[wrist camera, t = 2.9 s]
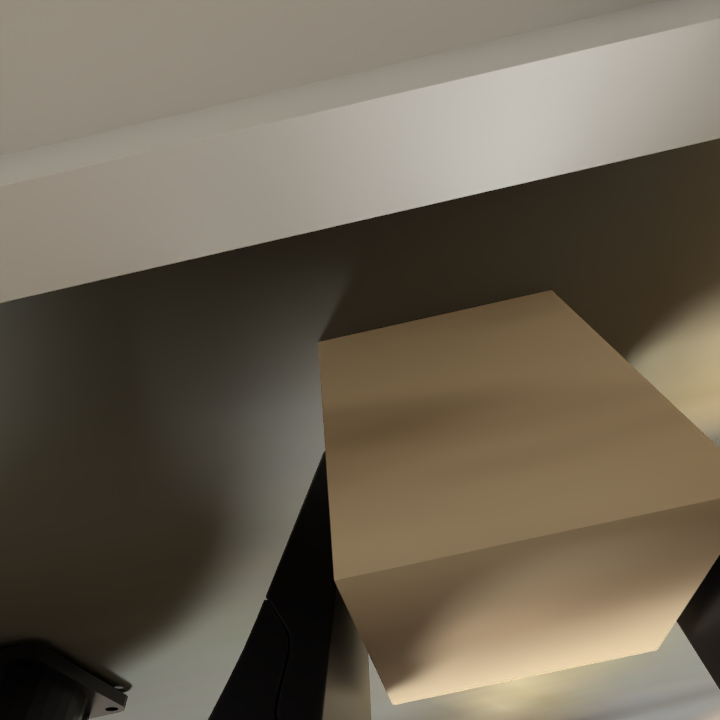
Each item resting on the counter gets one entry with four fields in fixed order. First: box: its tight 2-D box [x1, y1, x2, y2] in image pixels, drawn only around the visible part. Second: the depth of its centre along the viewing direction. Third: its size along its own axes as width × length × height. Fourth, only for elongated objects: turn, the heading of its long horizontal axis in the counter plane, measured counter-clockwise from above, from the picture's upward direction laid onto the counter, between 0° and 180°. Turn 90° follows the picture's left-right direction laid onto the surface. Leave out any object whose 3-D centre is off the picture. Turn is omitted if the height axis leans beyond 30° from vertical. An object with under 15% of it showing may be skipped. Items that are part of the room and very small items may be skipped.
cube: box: [318, 290, 720, 705], centre depth 8 cm, size 5×5×5 cm
